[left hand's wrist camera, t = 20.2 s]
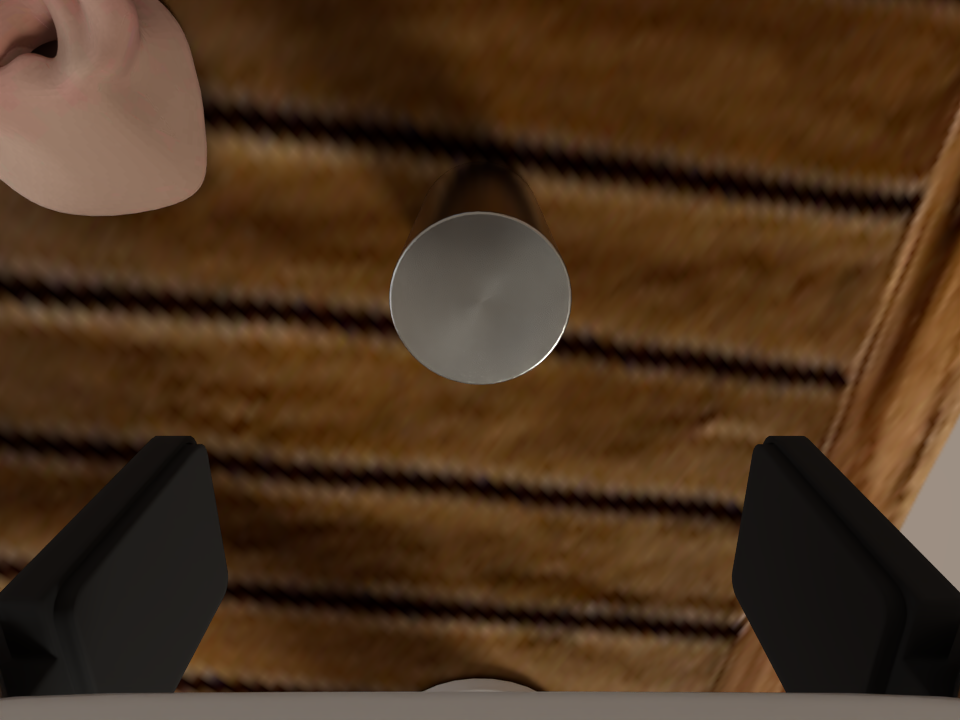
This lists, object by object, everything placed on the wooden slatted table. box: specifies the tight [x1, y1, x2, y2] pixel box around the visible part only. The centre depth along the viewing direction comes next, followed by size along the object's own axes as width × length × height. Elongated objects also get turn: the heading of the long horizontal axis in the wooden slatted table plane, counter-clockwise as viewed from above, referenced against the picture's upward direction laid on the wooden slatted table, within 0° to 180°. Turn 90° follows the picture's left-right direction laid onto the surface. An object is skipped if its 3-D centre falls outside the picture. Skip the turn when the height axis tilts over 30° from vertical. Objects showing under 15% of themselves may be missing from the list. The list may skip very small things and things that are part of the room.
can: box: [389, 162, 572, 385], centre depth 24 cm, size 5×5×11 cm
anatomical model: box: [0, 0, 207, 216], centre depth 25 cm, size 13×4×12 cm
